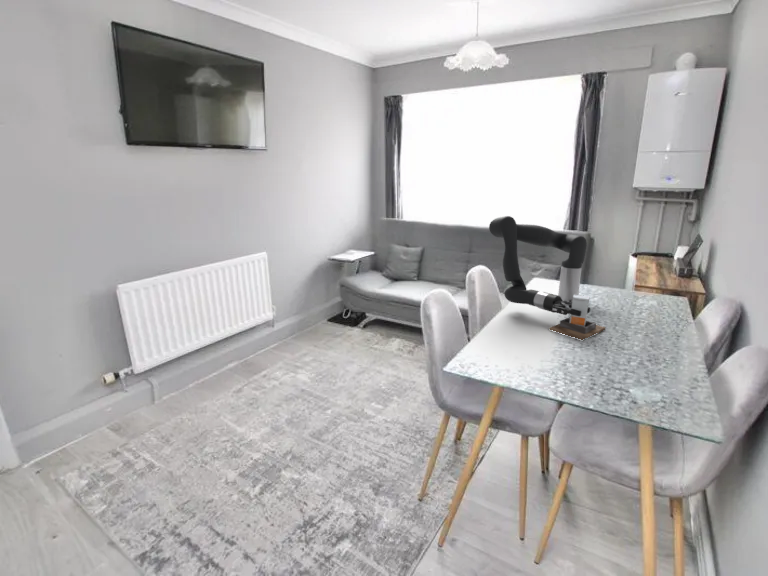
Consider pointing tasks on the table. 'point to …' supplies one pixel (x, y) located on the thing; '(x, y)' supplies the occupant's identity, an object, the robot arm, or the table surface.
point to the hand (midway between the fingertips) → (585, 312)
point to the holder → (577, 329)
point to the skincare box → (581, 305)
